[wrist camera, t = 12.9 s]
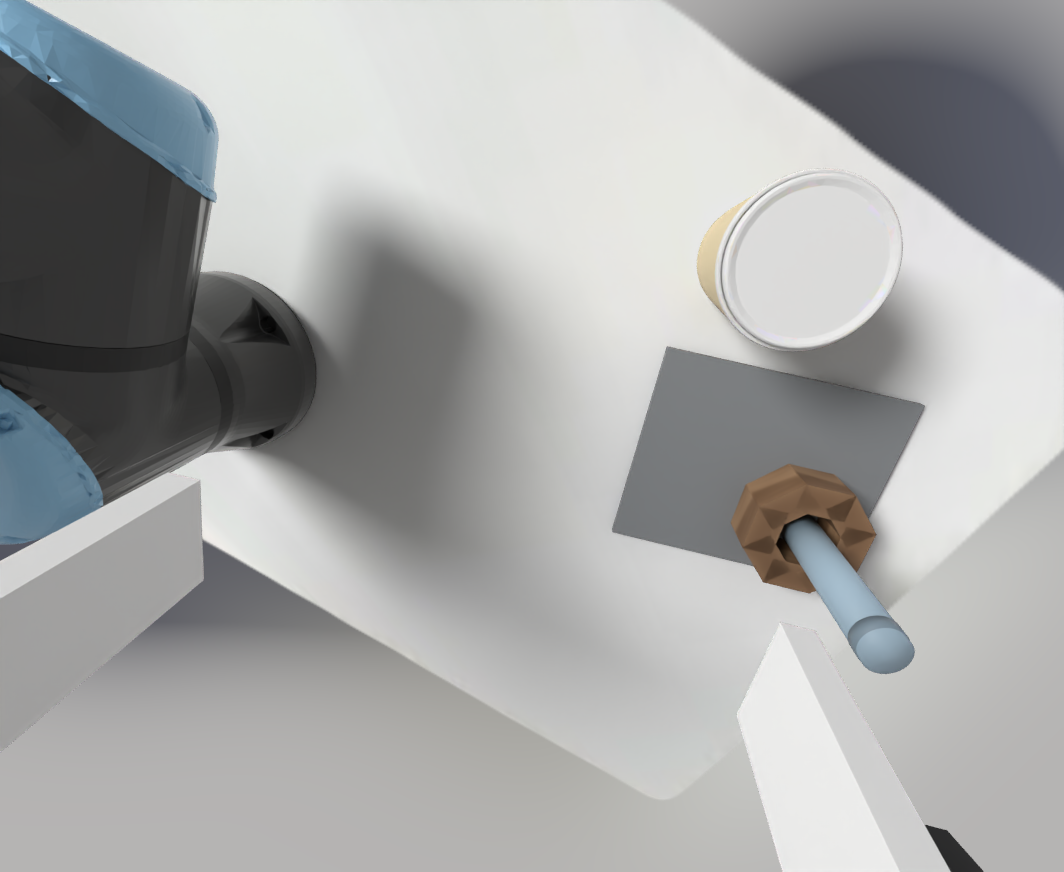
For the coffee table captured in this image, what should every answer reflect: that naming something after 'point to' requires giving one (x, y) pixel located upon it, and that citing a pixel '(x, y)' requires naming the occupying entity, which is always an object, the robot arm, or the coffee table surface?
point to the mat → (748, 446)
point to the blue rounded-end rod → (849, 599)
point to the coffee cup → (803, 259)
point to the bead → (788, 500)
